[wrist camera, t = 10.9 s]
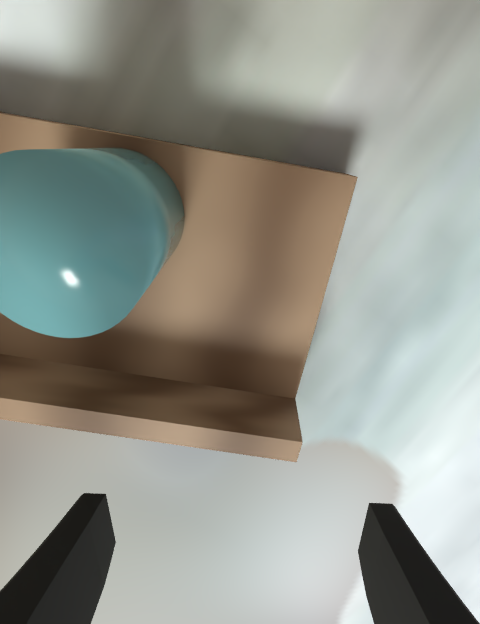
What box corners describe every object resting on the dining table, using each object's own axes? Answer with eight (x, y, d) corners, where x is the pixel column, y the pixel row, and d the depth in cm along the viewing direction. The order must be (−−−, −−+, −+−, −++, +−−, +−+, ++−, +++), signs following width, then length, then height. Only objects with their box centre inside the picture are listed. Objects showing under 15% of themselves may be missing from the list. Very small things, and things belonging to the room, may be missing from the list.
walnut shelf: (345, 173, 16) (383, 184, 11) (286, 393, 21) (296, 462, 16) (-75, 98, 15) (-214, 78, 11) (-32, 344, 20) (-114, 402, 16)
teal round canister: (189, 158, 14) (149, 166, 9) (180, 279, 16) (143, 348, 11) (59, 138, 14) (-67, 133, 8) (66, 263, 16) (-30, 325, 10)
